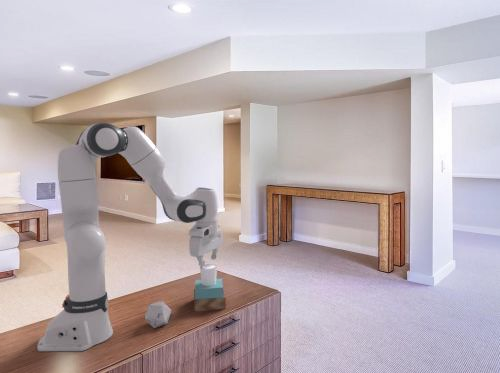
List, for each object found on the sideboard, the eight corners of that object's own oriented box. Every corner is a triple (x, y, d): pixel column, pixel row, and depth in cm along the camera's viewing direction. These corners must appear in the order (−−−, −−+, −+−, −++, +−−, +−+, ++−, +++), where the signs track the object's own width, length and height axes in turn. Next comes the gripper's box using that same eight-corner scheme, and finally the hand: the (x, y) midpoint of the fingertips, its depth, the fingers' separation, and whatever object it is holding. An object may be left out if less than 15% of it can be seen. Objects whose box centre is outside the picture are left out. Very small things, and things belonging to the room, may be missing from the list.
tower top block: (195, 299, 140) (194, 289, 139) (195, 289, 150) (195, 280, 150) (223, 297, 141) (223, 287, 141) (222, 287, 152) (221, 278, 151)
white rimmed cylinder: (206, 287, 140) (206, 270, 140) (197, 283, 146) (196, 266, 145) (220, 283, 145) (220, 266, 145) (210, 279, 150) (210, 263, 150)
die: (140, 329, 127) (146, 313, 122) (146, 309, 134) (153, 293, 129) (163, 335, 128) (170, 319, 123) (168, 314, 136) (175, 299, 130)
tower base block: (194, 312, 139) (194, 300, 139) (194, 300, 151) (193, 289, 151) (225, 309, 141) (225, 297, 141) (222, 298, 153) (222, 286, 153)
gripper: (213, 223, 154) (214, 255, 155) (185, 232, 136) (187, 268, 137) (226, 224, 152) (227, 256, 153) (200, 233, 133) (201, 270, 134)
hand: (208, 262), depth 144 cm, fingers open, 8 cm apart
